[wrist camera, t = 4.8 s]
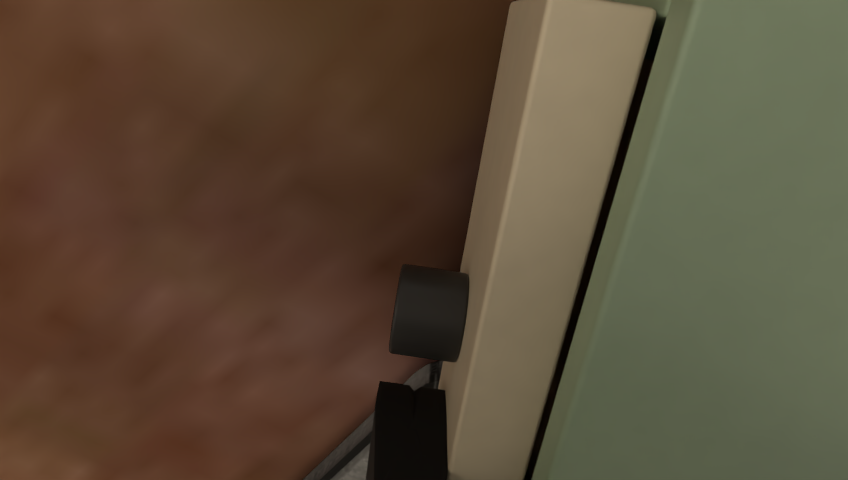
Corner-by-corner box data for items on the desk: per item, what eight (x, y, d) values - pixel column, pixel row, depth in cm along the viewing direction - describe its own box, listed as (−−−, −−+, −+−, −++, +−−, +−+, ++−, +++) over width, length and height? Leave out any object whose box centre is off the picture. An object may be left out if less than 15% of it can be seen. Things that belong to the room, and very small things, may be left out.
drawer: (378, 446, 14) (347, 621, 10) (443, -10, 10) (436, -27, 6) (868, 519, 14) (1035, 722, 10) (1137, 97, 10) (1601, 154, 6)
